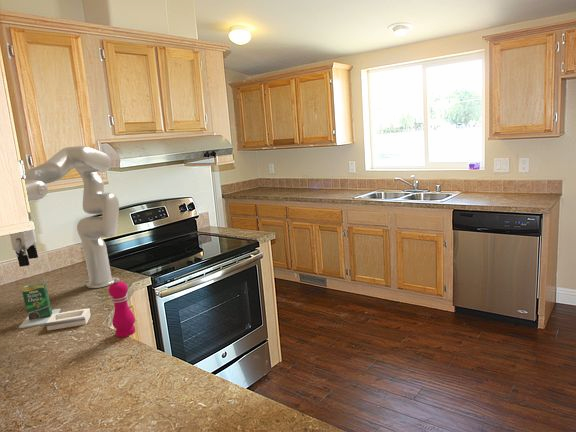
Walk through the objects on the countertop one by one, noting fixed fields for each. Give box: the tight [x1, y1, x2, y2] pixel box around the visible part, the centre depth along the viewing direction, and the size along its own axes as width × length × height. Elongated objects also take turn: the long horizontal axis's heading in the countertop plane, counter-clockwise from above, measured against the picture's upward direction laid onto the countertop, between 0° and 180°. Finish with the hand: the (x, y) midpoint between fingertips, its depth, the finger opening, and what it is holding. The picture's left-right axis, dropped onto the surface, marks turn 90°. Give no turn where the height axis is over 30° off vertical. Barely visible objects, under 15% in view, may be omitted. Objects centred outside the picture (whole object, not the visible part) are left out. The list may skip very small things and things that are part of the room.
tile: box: [18, 308, 61, 330], centre depth 167 cm, size 13×11×1 cm
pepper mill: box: [108, 277, 136, 338], centre depth 146 cm, size 7×7×20 cm
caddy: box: [44, 308, 92, 332], centre depth 160 cm, size 9×13×3 cm
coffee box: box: [21, 282, 53, 320], centre depth 166 cm, size 8×3×13 cm, turn 102°
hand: (29, 261), depth 163 cm, fingers open, 9 cm apart
